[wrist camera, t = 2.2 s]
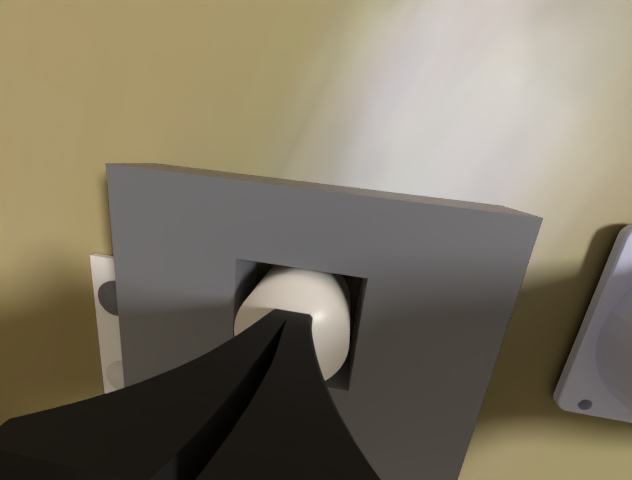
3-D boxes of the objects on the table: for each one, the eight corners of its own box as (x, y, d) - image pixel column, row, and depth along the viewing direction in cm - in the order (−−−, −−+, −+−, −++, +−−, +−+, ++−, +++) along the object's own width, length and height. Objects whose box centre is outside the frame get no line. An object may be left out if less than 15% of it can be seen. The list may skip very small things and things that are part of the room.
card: (142, 260, 14) (136, 263, 13) (153, 468, 17) (149, 475, 17) (95, 253, 14) (87, 255, 13) (116, 459, 17) (110, 466, 17)
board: (502, 205, 11) (543, 218, 9) (395, 580, 17) (401, 650, 14) (154, 163, 12) (105, 163, 10) (168, 524, 18) (140, 579, 16)
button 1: (357, 263, 12) (357, 293, 9) (343, 346, 13) (340, 396, 10) (263, 249, 12) (236, 274, 10) (257, 331, 13) (232, 375, 11)
